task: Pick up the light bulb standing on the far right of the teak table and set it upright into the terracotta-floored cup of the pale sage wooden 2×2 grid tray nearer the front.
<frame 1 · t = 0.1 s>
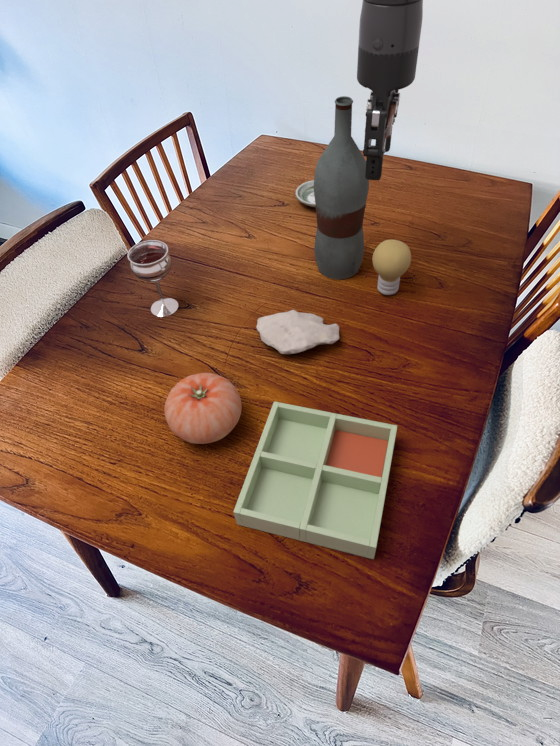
hand: (377, 164, 77), 23 cm above the table, tool pointing down, fingers open, 8 cm apart
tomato: (208, 424, 76), on the table
grid: (319, 480, 69), on the table
bottle: (338, 266, 98), on the table
saucer: (317, 202, 113), on the table
wineglass: (164, 307, 94), on the table
decorative stone: (295, 338, 87), on the table
light bulb: (387, 291, 93), on the table
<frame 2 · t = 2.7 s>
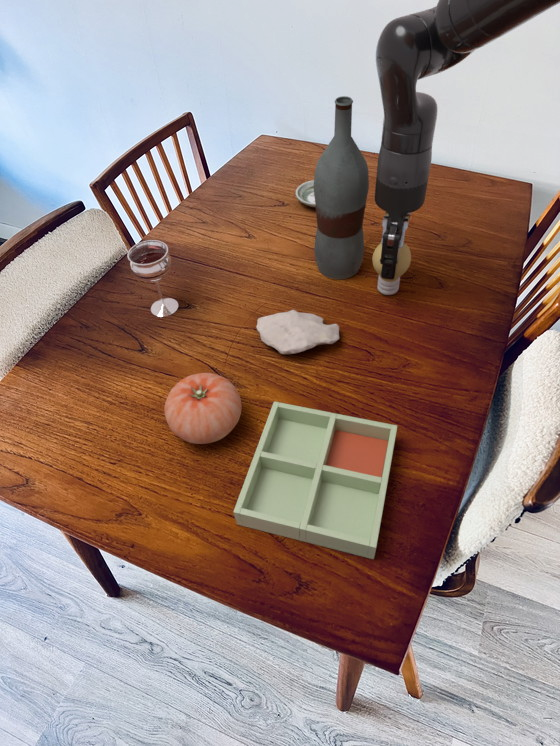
hand: (390, 264, 89), 6 cm above the table, tool pointing down, fingers closed on light bulb, 6 cm apart
light bulb: (387, 291, 93), on the table, touching gripper
everything else where it was.
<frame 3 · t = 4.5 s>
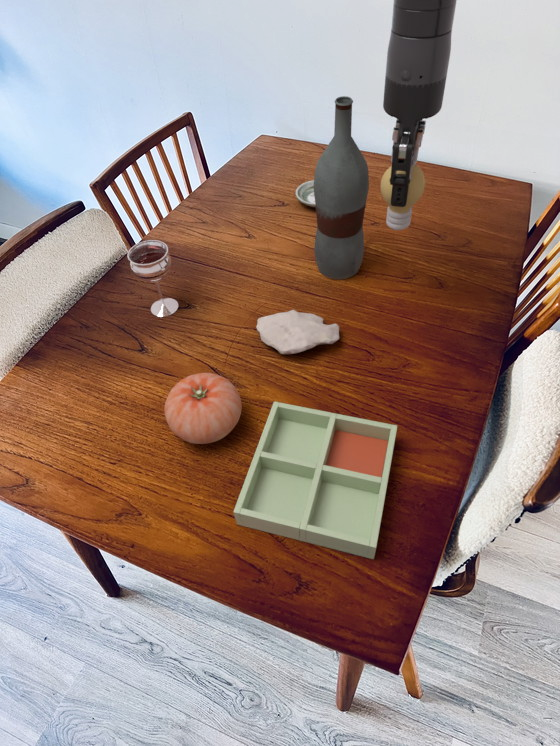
hand: (401, 192, 77), 20 cm above the table, tool pointing down, fingers closed on light bulb, 6 cm apart
light bulb: (397, 226, 82), point 14 cm above the table, touching gripper
everything else where it was.
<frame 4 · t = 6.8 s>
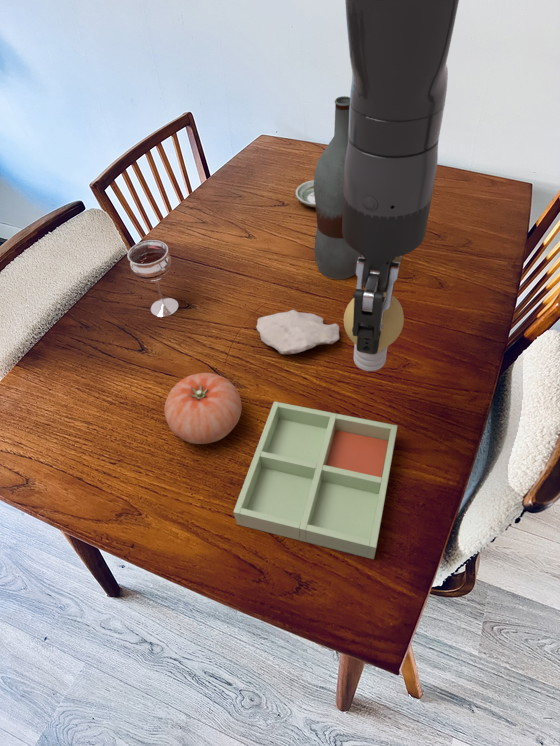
hand: (373, 327, 57), 21 cm above the table, tool pointing down, fingers closed on light bulb, 6 cm apart
light bulb: (369, 363, 61), point 16 cm above the table, touching gripper
everything else where it was.
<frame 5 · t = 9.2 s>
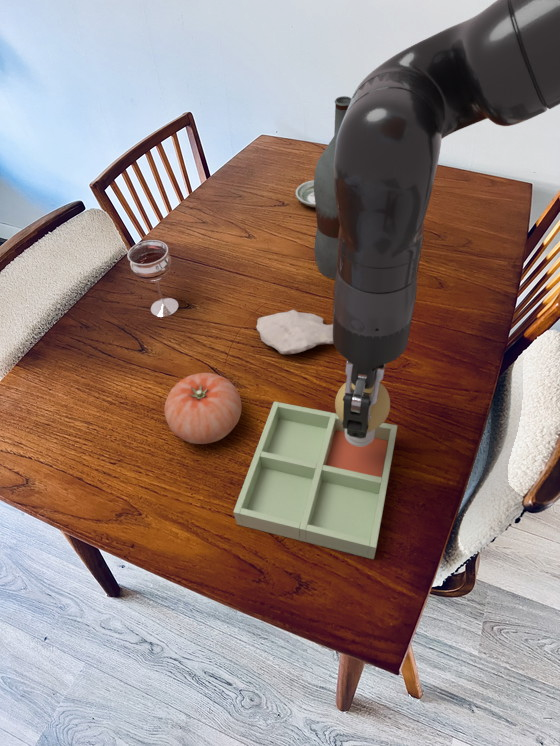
hand: (362, 410, 62), 12 cm above the table, tool pointing down, fingers closed on light bulb, 6 cm apart
light bulb: (359, 437, 66), point 6 cm above the table, touching gripper
everything else where it was.
when the fingers open (7 cm above the table, at t = 11.0 s): light bulb stays where it is, resting on grid.
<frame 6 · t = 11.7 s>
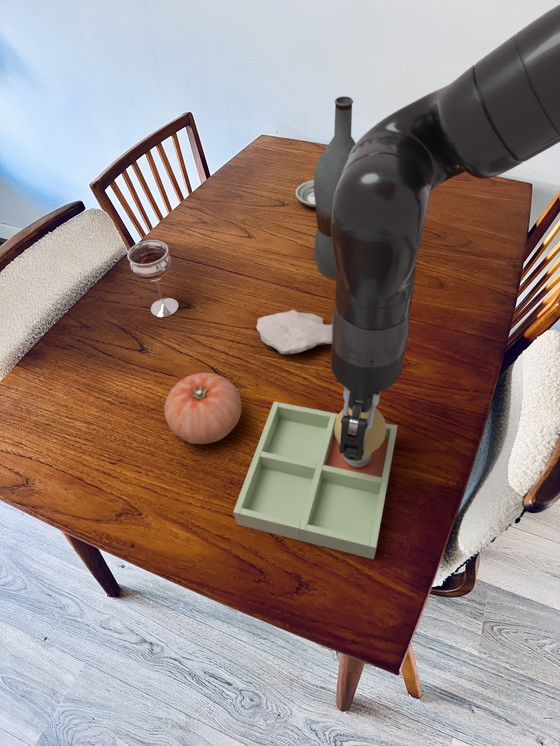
hand: (359, 428, 65), 8 cm above the table, tool pointing down, fingers open, 8 cm apart
light bulb: (356, 458, 70), point 1 cm above the table, touching grid
everything else where it was.
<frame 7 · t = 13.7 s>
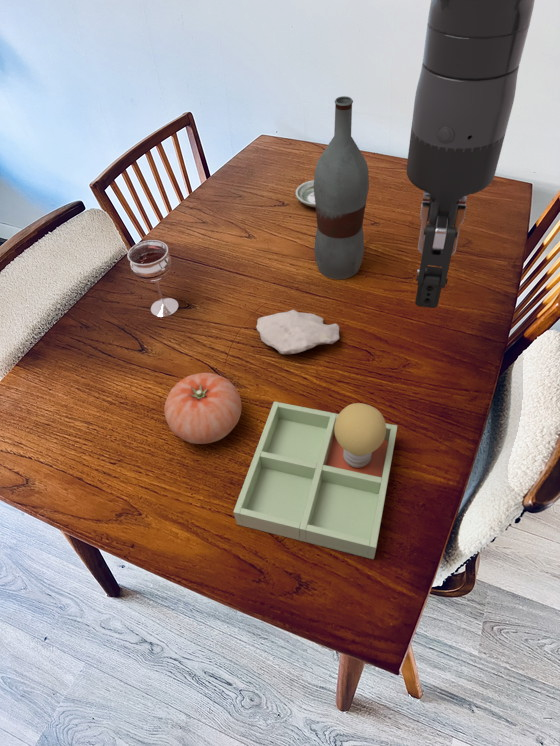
hand: (429, 278, 55), 26 cm above the table, tool pointing down, fingers open, 8 cm apart
nothing on the table moved.
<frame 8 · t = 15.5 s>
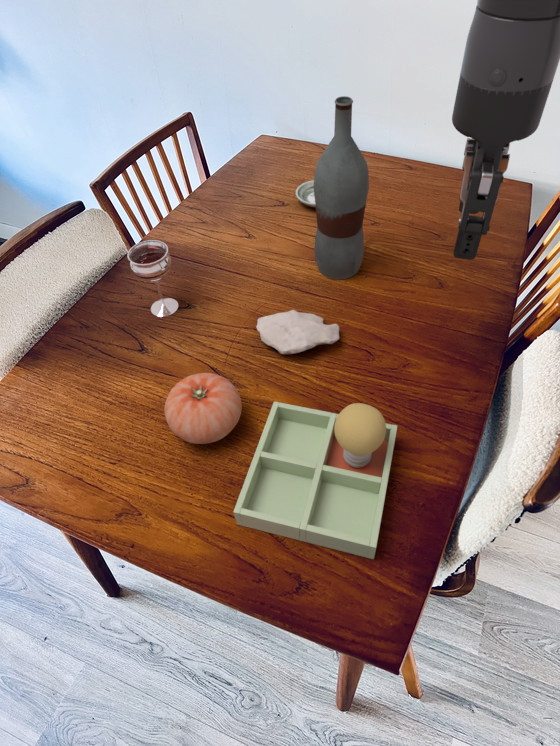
hand: (466, 233, 56), 28 cm above the table, tool pointing down, fingers open, 8 cm apart
nothing on the table moved.
at the end: light bulb 0.1 cm from the target spot in the grid, point 0.6 cm above the grid's base; light bulb tilted 0°; the gripper is holding nothing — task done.
